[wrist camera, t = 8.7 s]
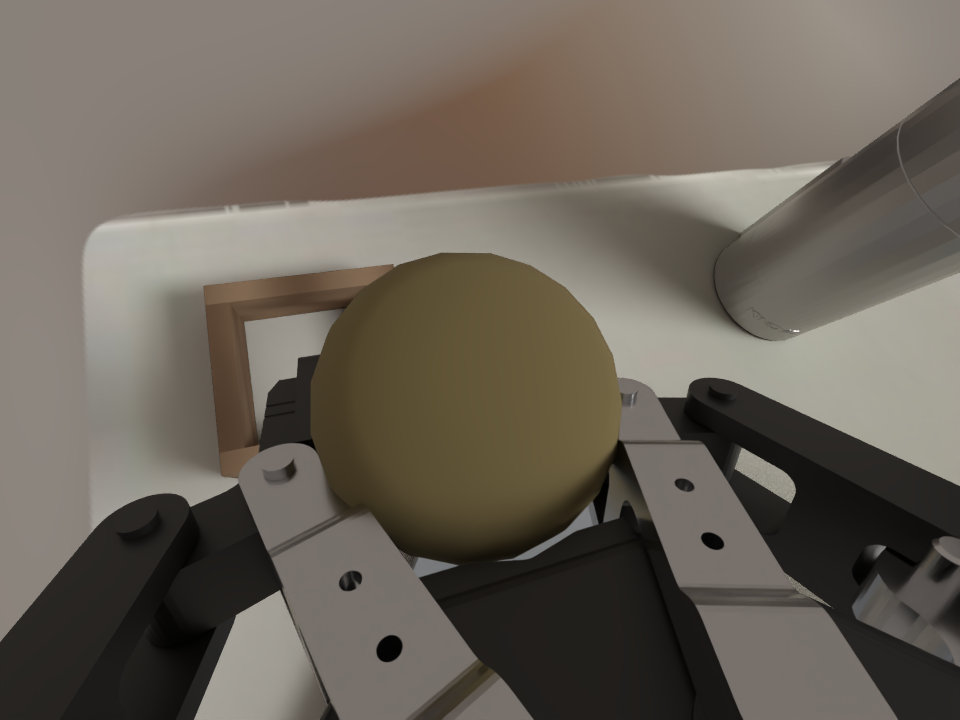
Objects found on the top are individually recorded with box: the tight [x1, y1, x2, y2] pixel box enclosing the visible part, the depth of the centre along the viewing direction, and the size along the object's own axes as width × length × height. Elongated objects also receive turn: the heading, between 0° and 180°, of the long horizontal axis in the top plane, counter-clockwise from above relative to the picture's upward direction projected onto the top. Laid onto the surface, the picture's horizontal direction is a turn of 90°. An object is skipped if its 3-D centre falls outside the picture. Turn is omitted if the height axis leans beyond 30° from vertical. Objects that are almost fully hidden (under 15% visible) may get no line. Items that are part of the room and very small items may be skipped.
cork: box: [311, 253, 622, 565], centre depth 11 cm, size 6×6×11 cm
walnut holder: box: [204, 264, 394, 478], centre depth 27 cm, size 11×11×3 cm
